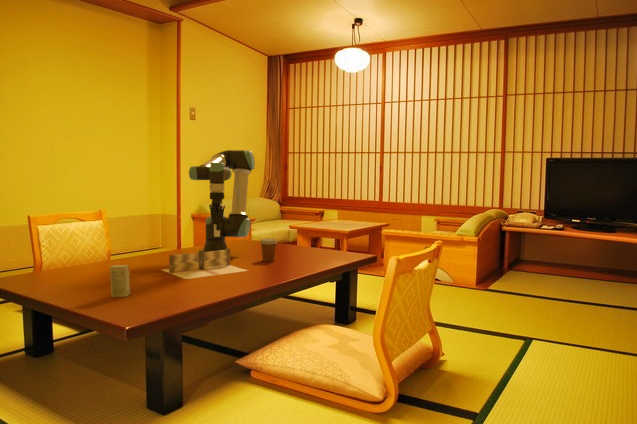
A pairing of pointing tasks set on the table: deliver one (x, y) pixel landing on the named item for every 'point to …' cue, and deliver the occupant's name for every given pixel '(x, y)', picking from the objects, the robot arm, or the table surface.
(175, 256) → the fence fixed
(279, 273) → the table surface
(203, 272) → the card
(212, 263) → the fence flap
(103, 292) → the table surface
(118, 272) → the skincare box
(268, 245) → the disposable coffee cup
